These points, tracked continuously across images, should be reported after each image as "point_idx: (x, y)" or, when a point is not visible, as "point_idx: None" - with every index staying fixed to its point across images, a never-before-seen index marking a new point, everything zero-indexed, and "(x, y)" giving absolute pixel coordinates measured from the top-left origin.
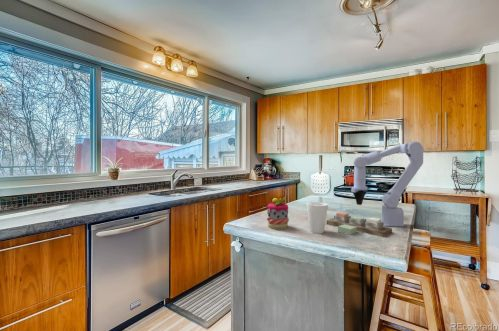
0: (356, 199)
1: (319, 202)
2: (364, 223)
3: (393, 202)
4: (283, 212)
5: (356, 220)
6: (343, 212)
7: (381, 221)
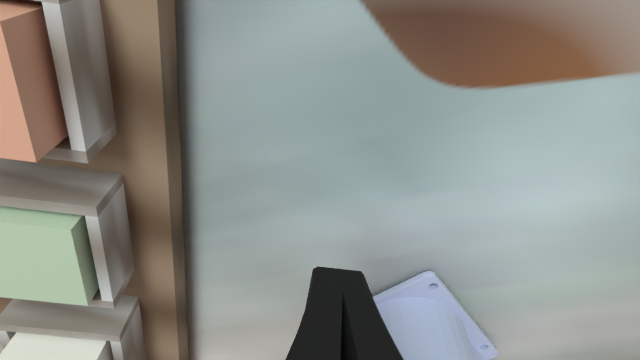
0: (300, 353)
1: None
2: None
3: None
4: None
5: None
6: (9, 81)
7: (439, 291)
